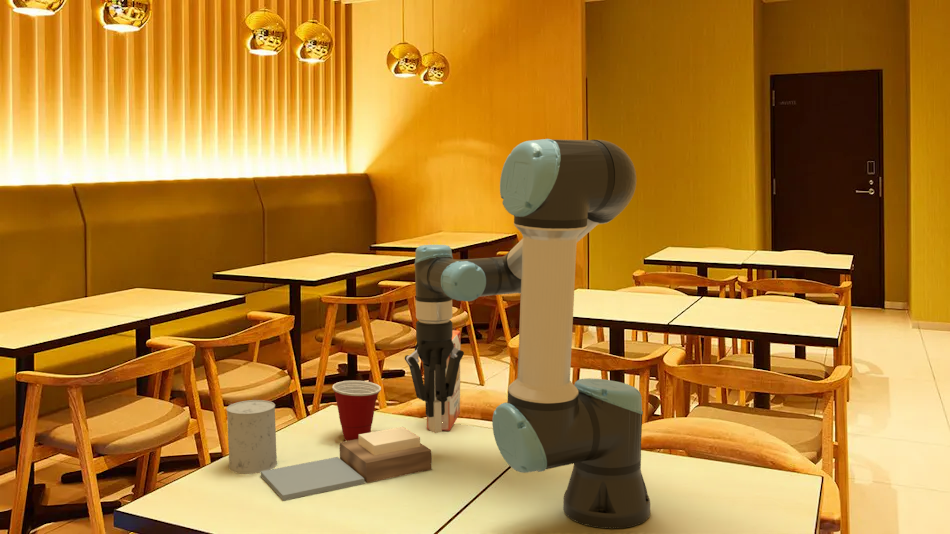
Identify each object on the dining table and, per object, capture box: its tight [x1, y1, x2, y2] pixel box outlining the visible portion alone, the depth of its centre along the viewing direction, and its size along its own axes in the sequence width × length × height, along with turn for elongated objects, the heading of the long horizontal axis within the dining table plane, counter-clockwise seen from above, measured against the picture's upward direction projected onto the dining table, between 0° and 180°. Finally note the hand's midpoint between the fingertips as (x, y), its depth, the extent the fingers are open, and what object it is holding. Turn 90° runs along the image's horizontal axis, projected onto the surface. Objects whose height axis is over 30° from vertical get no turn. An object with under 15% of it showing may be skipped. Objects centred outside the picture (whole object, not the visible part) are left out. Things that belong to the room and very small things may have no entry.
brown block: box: [338, 439, 433, 484], centre depth 174 cm, size 14×14×4 cm
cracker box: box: [426, 329, 461, 432], centre depth 201 cm, size 14×6×21 cm, turn 171°
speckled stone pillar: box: [226, 399, 278, 475], centre depth 174 cm, size 10×10×12 cm
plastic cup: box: [332, 380, 382, 441], centre depth 190 cm, size 11×11×12 cm
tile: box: [358, 426, 421, 455], centre depth 174 cm, size 8×10×2 cm
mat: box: [260, 456, 366, 502], centre depth 166 cm, size 14×16×1 cm
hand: (435, 430), depth 179 cm, fingers closed
